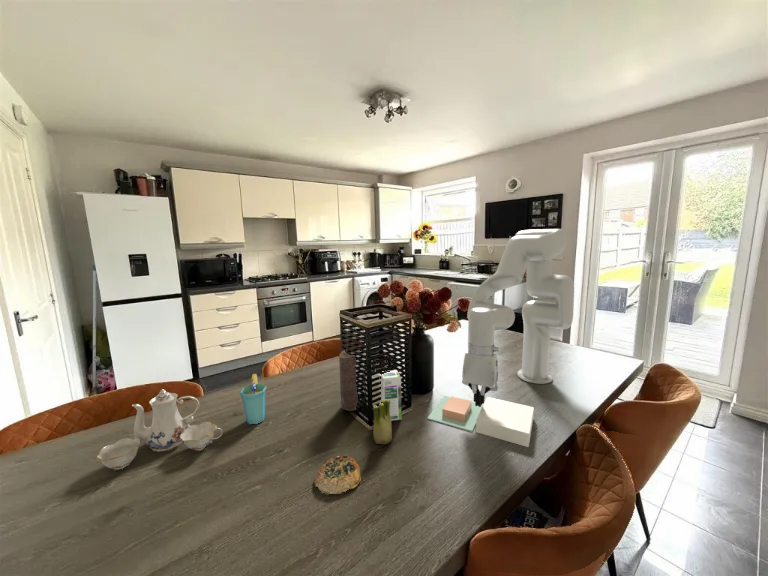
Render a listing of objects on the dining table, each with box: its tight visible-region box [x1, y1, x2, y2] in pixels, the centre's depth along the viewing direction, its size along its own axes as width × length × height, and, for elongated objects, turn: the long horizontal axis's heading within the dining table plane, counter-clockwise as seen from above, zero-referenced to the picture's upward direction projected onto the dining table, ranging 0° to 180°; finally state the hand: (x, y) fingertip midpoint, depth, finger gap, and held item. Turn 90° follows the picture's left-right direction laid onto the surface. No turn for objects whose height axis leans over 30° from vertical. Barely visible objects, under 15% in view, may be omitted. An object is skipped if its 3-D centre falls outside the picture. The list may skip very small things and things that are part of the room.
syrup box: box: [381, 369, 403, 422], centre depth 97 cm, size 6×6×14 cm
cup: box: [239, 373, 267, 425], centre depth 95 cm, size 14×8×15 cm, turn 27°
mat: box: [426, 395, 484, 433], centre depth 100 cm, size 16×14×1 cm
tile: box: [442, 395, 473, 422], centre depth 99 cm, size 9×7×2 cm
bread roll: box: [313, 454, 362, 494], centre depth 72 cm, size 11×11×5 cm
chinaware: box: [95, 388, 223, 470], centre depth 83 cm, size 28×17×17 cm, turn 118°
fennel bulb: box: [372, 399, 393, 445], centre depth 85 cm, size 6×5×12 cm
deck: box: [475, 396, 535, 448], centre depth 92 cm, size 15×14×4 cm
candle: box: [338, 350, 358, 412], centre depth 102 cm, size 8×7×20 cm
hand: (478, 404), depth 95 cm, fingers closed
